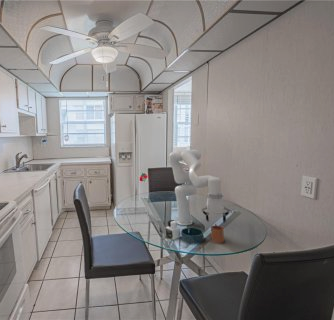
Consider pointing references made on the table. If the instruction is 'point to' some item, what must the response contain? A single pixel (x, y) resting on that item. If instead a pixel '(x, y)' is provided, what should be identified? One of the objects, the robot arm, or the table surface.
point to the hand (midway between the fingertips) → (215, 221)
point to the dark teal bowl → (192, 235)
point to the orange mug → (217, 234)
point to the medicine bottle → (172, 230)
